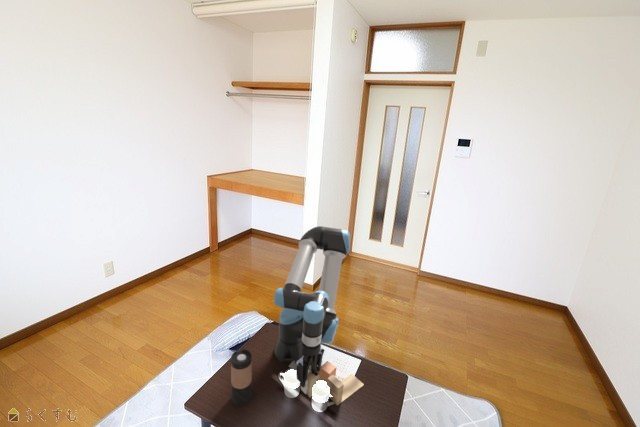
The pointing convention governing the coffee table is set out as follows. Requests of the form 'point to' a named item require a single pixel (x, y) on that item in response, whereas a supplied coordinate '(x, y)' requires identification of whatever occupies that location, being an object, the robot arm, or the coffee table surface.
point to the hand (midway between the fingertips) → (307, 388)
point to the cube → (327, 371)
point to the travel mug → (241, 377)
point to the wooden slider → (312, 381)
